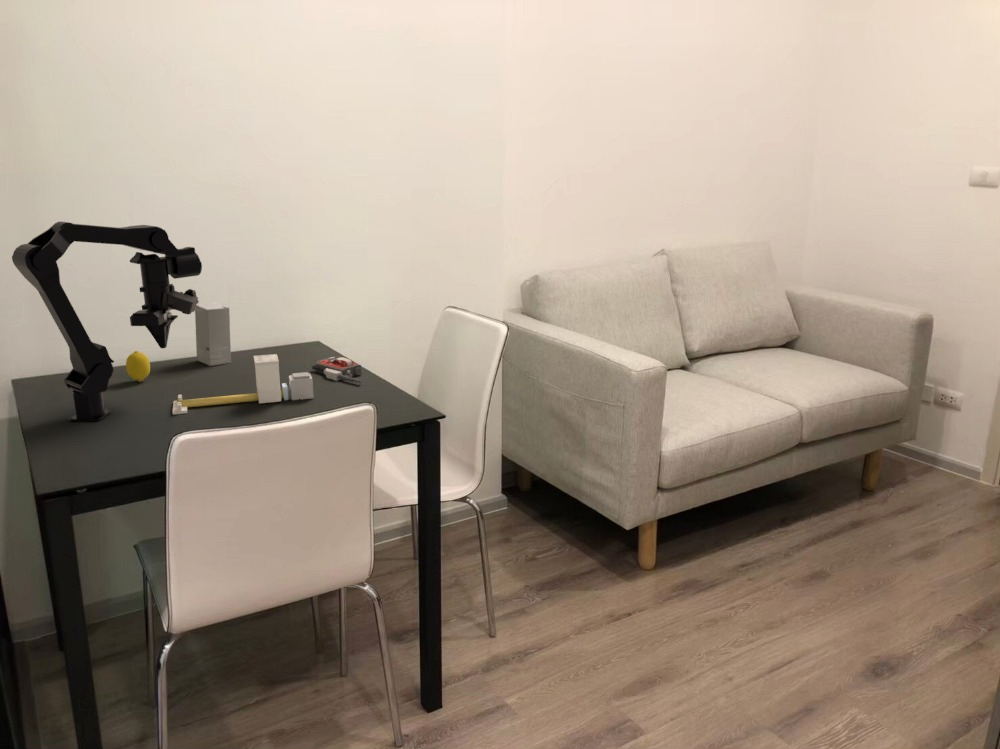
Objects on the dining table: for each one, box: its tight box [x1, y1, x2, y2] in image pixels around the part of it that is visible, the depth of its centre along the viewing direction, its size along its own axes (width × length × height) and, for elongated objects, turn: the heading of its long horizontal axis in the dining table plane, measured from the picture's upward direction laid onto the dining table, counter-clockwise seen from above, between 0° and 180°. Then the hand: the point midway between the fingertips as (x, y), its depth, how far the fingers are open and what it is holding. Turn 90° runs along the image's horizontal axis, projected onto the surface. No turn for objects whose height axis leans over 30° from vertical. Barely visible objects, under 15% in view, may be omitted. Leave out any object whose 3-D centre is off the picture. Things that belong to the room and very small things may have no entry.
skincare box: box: [194, 301, 232, 367], centre depth 226 cm, size 8×7×16 cm
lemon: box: [125, 350, 151, 383], centre depth 208 cm, size 6×6×8 cm
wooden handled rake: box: [172, 390, 284, 415], centre depth 192 cm, size 26×8×2 cm, turn 109°
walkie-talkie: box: [311, 356, 362, 384], centre depth 214 cm, size 9×4×20 cm
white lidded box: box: [253, 353, 282, 404], centre depth 194 cm, size 5×7×10 cm
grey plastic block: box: [281, 371, 315, 401], centre depth 196 cm, size 7×4×5 cm, turn 109°
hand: (163, 348), depth 194 cm, fingers closed
